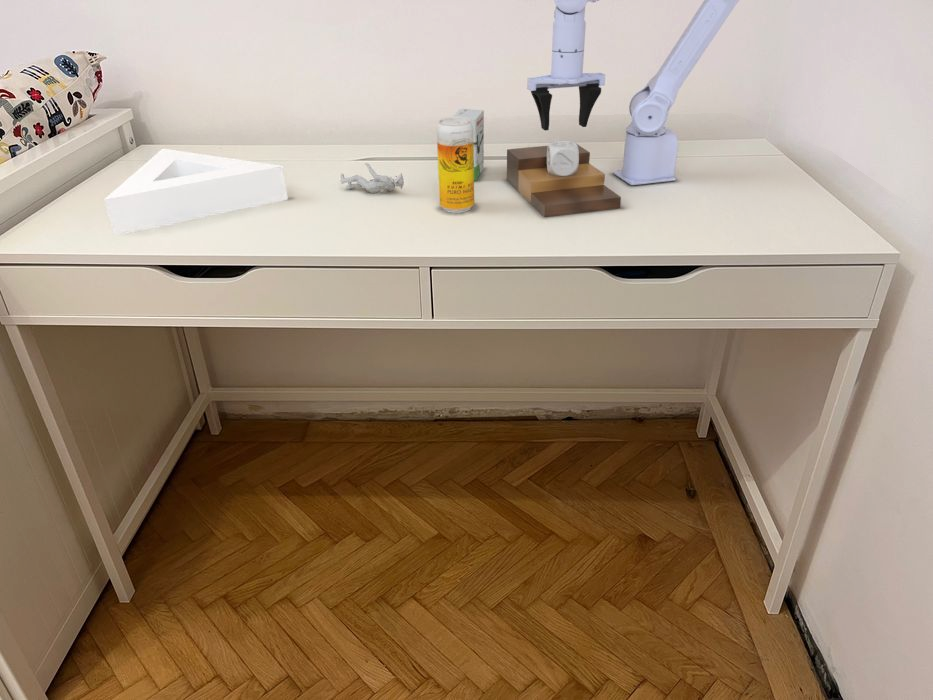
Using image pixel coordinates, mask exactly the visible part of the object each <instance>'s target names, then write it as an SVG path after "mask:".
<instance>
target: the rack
mask: <svg viewBox="0 0 933 700" xmlns="http://www.w3.org/2000/svg"><path fill="white" fill-rule="evenodd" d="M576 144H577V146H578V151H579V164H578V170H577V172H576V173H574V174H573V175H570V176H554V175H551V174H549V173H548V170H547V148H548V145H540V146H529V147H517V148H508V149H506V182H508V183H509V184H510V185H511V186H512V187H513V188H514V189H515V190H516V191H517V192H518V193H520V195H521V196H522V197H523V198H524V199H525V200H526V201H527V202H529V204H530V205H531V206H533V207H534V209H536V211H537V212H539V214H540V215H542V216H543V217H544V218H548V217H549V218H550V217H557V216H565V215H566V216H567V215H573V214H574V215H575V214H582V213H591V212H599V211H608V210H616V209H621V203H622V197H621V196H620V195H619V194H617V193H616V192H615V191H614V190H612V189H611V188H609V187H608V186H607V185H605V180H606V179H605V178H606V177H605V176H606V174H605V173H604V172H603V171H601V170H600V169H599V168H597V167H595V166H594V165H593V164H592V163H590V157H591V152H590V151H588V150H587V149H586V148H584V147H582V146H580V145H579V143H576Z"/></svg>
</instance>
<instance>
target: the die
mask: <svg viewBox="0 0 933 700" xmlns="http://www.w3.org/2000/svg"><path fill="white" fill-rule="evenodd" d="M577 144H578V143H576V142H574V141H568V140H557V141H555V140H554V141H552V142H550V143H549V144H548V145H547V146H548V148H547V170H548V173H549V174H551V175H554V176H570V175H573V174H574V173H576V172H577V170H578V164H579V151H578V146H577Z"/></svg>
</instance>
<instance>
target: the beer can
mask: <svg viewBox="0 0 933 700" xmlns="http://www.w3.org/2000/svg"><path fill="white" fill-rule="evenodd" d="M436 147H437V169H438V170H437V171H438V194H439V195H438V197H439V205H440V207H441V208H442V210H443V211H445V212H448V213H453V214H459V213H461V214H462V213H465V212H468V211H470V210H471V209H472V207H473V206H474V205H475V180H474V148H473V126H472V124H471V120H470V119H468V118H463V117H453V116H451V117H443V118H441V119H439V120H438V124H437V125H436Z"/></svg>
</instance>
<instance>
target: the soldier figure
mask: <svg viewBox="0 0 933 700" xmlns="http://www.w3.org/2000/svg"><path fill="white" fill-rule="evenodd" d="M364 165H365V166H366V167H367V169H368V172H369V173H370V175H371V176H372V178H373V179H369V180H367V179H366V178H365V177H362V176H361V175H359V174H355V175H353V176H349V177H345V174H344V173H341V174H340V184H341V185H343V184H345V183H347V187H346V188H347V190H350V189H358V188H363V189H364V190H365V191H366V192H368V193H370V194H375V193H378V192H380V191H382V190H384V191H385V190H387V191H388V192H392V191H393V190H394V189H395V188H396V187H399V188H400V189H401V190H402V189H403V187H404V185H405V181H404V176H403V173H402V172H401V173H400V174H398V175H397V176H396V175H395V176H393V177H392V176H388V175H380V174H377V173H376V172H375V171H374V169H373V168H372V166H371V165H370V164H369V162H365V163H364ZM355 182H356V183H355Z"/></svg>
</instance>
